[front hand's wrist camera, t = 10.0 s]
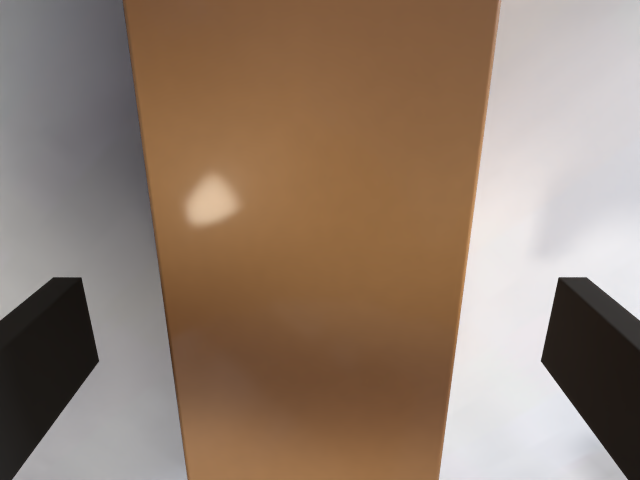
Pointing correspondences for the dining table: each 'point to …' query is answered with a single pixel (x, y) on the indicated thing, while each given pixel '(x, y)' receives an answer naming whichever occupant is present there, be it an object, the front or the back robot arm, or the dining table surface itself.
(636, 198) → the dining table surface
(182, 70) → the post
